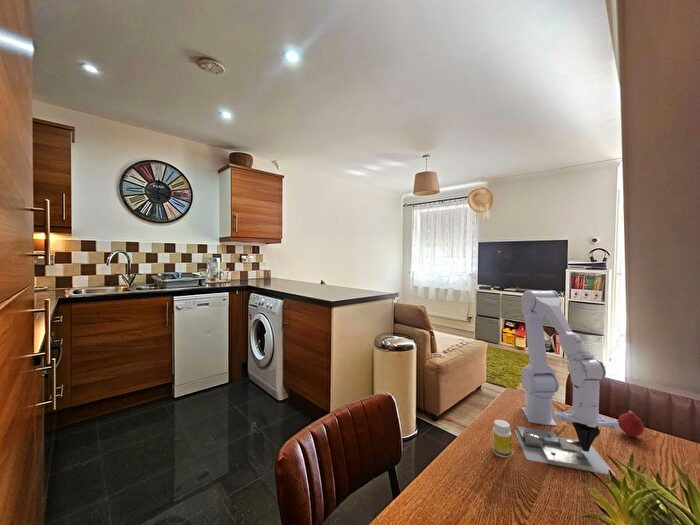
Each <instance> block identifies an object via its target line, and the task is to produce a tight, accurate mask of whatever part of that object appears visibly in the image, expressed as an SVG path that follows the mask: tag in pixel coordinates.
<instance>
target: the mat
mask: <svg viewBox="0 0 700 525" xmlns="http://www.w3.org/2000/svg"><path fill="white" fill-rule="evenodd" d="M513 431H514V433H515V435H516V436H515V437H516V438H517V440H518V443H519V444H520V447H521V449H522V452H523V454H524V456H525V458H526V460H527V461H532V462H537V463H543V464H548V462H547V460H546V458H545V456H544V455H543V453H542V451H541V448H539V447H533V446H527V445H525V444H524V442H523V441H522V440H521V437H520V435H519V432H518V430H517V429H516V430H513ZM557 438H558V439H559V438H561V439H567V440H574V441H579V439H572V438H565V437H559V436H557ZM545 447H548V448H554V449H559V450H560V448H559V446H553V445H547V444H545ZM582 453H583V454H584V455H585V457H586V458H587V459H588V461H589V462H590V463H591V465H592V466H593V473H598V474H599V473H600V474H604V475H609V474H608V470H611V472H612V473H613V474H614V475H613V476H616V477H617V474H615V472H614V471H613V469H611V467H610V466H609V465H608V464H607V463H606V461H605V460H604V458H602V456H601V455H600V453H599V452H598V451H597V450H596V449H595V448H594V446H593V445H592V444H591V447H590V449H589V452H586V451H583V450H582Z"/></svg>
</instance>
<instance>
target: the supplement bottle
mask: <svg viewBox="0 0 700 525" xmlns="http://www.w3.org/2000/svg"><path fill="white" fill-rule="evenodd" d="M491 447H492V452H493V453H494V454H495V455H496V456H498V457H501V458H509V457H511V456H512V432H511V425H510V423H509V422H508V421H506V420H502V419H495V420H494V423H493V427H492V446H491Z"/></svg>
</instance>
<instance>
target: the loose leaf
mask: <svg viewBox="0 0 700 525" xmlns="http://www.w3.org/2000/svg"><path fill="white" fill-rule="evenodd" d="M561 438H562V437H560V438H559V439H558V444H559V448H560V450H559V449H554V448H548V447H541V451H542V453H543V455H544V456H545V458H546V460H547V462H548V463H547V464H549V465H552V466H553V465H554V466H560V467H564V468H570V469H575V470H581V471H586V472H591V473H592V472H593V466H592V465H591V463H590V462H589V461H588V459H587V458H586V457H585V455H584V454H583V453H582V446H581V444H580V442H579V441H574V440H575V439H573V440H567V439H568V438H566V439H561ZM593 473H594V472H593Z"/></svg>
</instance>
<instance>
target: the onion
mask: <svg viewBox="0 0 700 525" xmlns="http://www.w3.org/2000/svg"><path fill="white" fill-rule="evenodd" d="M617 422H618V423H619V428H620V429H621V430H622V431H623V433H625V434H626V435H627V436H628V437H631V438H632V437H633V438H634V437H639V436H641V435H642V434H643V433H644V432H645V425H644V423H643V421H642V420H641V418H640V417H639V416H637V414H635V413H634V412H633V411H631V410H627V412H625V413H622V414H621V415H619V417H618V420H617Z"/></svg>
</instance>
